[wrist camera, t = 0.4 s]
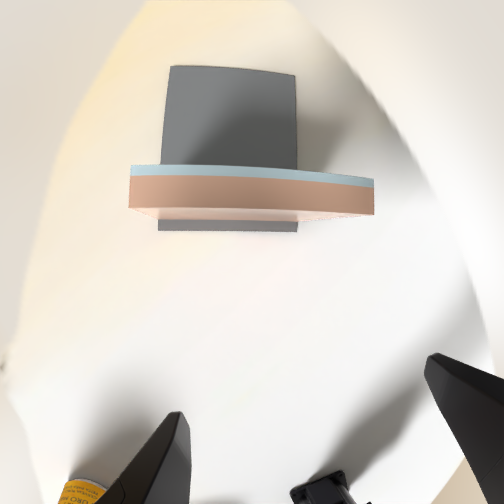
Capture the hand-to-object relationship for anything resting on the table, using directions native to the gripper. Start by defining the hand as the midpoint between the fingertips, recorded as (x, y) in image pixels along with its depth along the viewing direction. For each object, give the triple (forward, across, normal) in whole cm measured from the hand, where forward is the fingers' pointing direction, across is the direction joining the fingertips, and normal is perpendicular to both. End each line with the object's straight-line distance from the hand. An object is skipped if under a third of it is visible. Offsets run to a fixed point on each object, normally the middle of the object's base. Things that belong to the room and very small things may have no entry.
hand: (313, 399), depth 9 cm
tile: (+14, +2, -4) cm, 15 cm away
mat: (+16, +1, -9) cm, 18 cm away
